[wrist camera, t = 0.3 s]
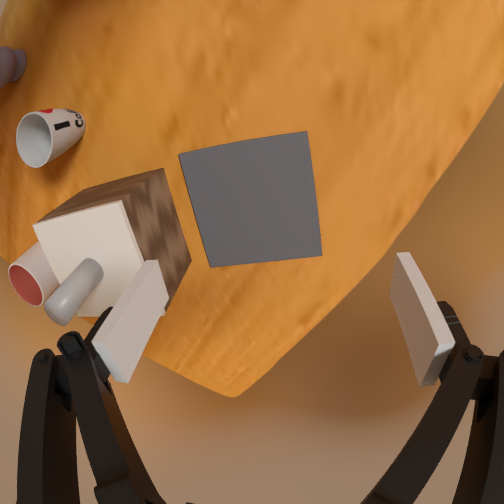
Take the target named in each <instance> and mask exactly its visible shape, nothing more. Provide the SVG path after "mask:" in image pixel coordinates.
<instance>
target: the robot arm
mask: <svg viewBox="0 0 504 504" xmlns="http://www.w3.org/2000/svg"><path fill="white" fill-rule="evenodd" d="M389 294H390V297H391V300H392V302H393V305H394V308H395V311H396V314H397V317H398V319H399V322H400V325H401V328H402V331H403V334H404V337H405V340H406V343H407V347H408V350H409V353H410V356H411V360H412V363H413V366H414V370H415V373H416V377H417V380H418V384H419V387H425V386H431V385H435V383H436V381H437V379H438V377H439V378H440V381H441V386H440V387H439V389H438V391H437V392H436V394H435V396H434V398H433V400H432V402H431V404H430V406H429V407H428V409H427V411H426V412H425V414H424V416H423V418H422V419H421V421H420V422H419V424H418V426H417V427H416V429H415V431H414V432H413V434H412V435H411V437H410V438H409V440H408V441H407V443H406V445H405V446H404V447H403V449H402V450H401V452H400V453H399V455H398V456H397V458H396V459H395V460H394V462H393V463H392V464H391V466H390V467H389V469H388V470H387V471H386V473H385V474H384V475H383V476H382V478H381V479H380V481H379V482H378V483H377V484H376V486H375V487H374V488H373V489H372V490H371V492H370V493H369V494H368V495H367V496H366V498H365V499H364V500H363V501H362V502H361V503H360V504H413V503H414V501H415V500H416V498H417V497H418V495H419V494H420V492H421V491H422V489H423V488H424V486H425V485H426V483H427V482H428V480H429V478H430V477H431V475H432V473H433V472H434V470H435V468H436V467H437V465H438V463H439V462H440V460H441V458H442V456H443V454H444V453H445V451H446V449H447V447H448V445H449V443H450V441H451V439H452V437H453V435H454V433H455V431H456V429H457V427H458V425H459V423H460V421H461V419H462V417H463V414H464V412H465V410H466V408H467V405H468V403H469V401H470V399H472V400H475V407H474V414H473V420H472V426H471V432H470V437H469V442H468V447H467V451H466V456H465V460H464V464H463V468H462V472H461V476H460V479H459V483H458V486H457V489H456V493H455V496H454V499H453V502H452V504H504V350H503V351H502V352H501V353H500V355H499V357H496V356H488V355H484V354H483V352H482V351H481V349H480V348H478V347H477V346H475V345H471V344H470V341H469V339H468V337H467V335H466V333H465V331H464V329H463V327H462V325H461V323H460V321H459V319H458V318H457V317H456V313H455V312H454V310H453V308H452V307H451V306H450V305H449V304H448V303H447V302H446V301H440V302H436V301H435V299H434V297H433V295H432V293H431V291H430V289H429V287H428V285H427V283H426V281H425V280H424V278H423V276H422V274H421V272H420V270H419V269H418V267H417V265H416V263H415V262H414V260H413V258H412V256H411V255H410V253H409V252H403V253H396V258H395V265H394V272H393V277H392V283H391V288H390V293H389ZM168 299H169V296H168V293H167V289H166V286H165V283H164V280H163V276H162V273H161V270H160V266H159V263H158V260H146V261H145V262H144V264H143V265H142V266H141V268H140V269H139V271H138V272H137V273H136V275H135V276H134V278H133V279H132V281H131V282H130V284H129V285H128V286H127V288H126V289H125V291H124V292H123V294H122V295H121V297H120V298H119V300H118V301H117V303H116V304H115V306H114V307H109V308H107V309H106V310H105V311H104V312H102V314H101V315H100V317H99V318H98V321H96V323H95V324H94V326H93V328H92V329H91V331H90V332H89V333H88V335H87V337H86V338H85V340H84V341H83V339H82V337H81V336H80V334H79V333H78V332H76V331H71V332H68V333H66V334H64V335H63V336H62V337H60V339H59V341H58V342H57V347H58V349H59V350H60V352H61V353H62V355H58V356H57V355H56V356H55V355H54V353H53V352H52V350H50V349H43V350H40V351H39V352H38V353H37V354H36V355H35V356H34V358H33V361H32V365H31V370H30V375H29V380H28V385H27V390H26V396H25V402H24V408H23V415H22V423H21V431H20V441H19V453H18V473H17V502H16V504H80V497H79V487H78V474H77V455H76V417H77V420H78V425H79V428H80V432H81V436H82V439H83V443H84V446H85V449H86V453H87V456H88V459H89V462H90V465H91V468H92V471H93V474H94V477H95V479H96V483H97V486H96V487H94V493H95V496H96V499H97V502H98V504H166V502H165V501H164V500H163V499H162V498H161V496H160V495H159V493H158V492H157V490H156V488H155V486H154V484H153V483H152V480H151V479H150V477H149V475H148V473H147V471H146V469H145V467H144V465H143V462H142V460H141V458H140V456H139V454H138V452H137V450H136V447H135V445H134V443H133V441H132V439H131V436H130V434H129V432H128V429H127V427H126V424H125V422H124V419H123V417H122V414H121V412H120V410H119V406H118V404H117V401H116V398H115V396H114V393H113V390H112V387H111V384H110V383H109V381H108V377H109V375H110V374H111V375H112V377H113V378H114V380H115V381H118V382H124V383H129V381H130V378H131V376H132V374H133V372H134V370H135V367H136V365H137V363H138V361H139V359H140V357H141V355H142V353H143V350H144V348H145V346H146V344H147V342H148V340H149V338H150V336H151V334H152V332H153V330H154V328H155V326H156V324H157V322H158V319H159V317H160V315H161V313H162V311H163V309H164V307H165V305H166V303H167V301H168ZM186 504H192V503H186Z"/></svg>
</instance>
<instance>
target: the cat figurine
mask: <svg viewBox="0 0 504 504" xmlns="http://www.w3.org/2000/svg"><path fill="white" fill-rule="evenodd" d="M25 67H26V54H25V53H24V51H23V50H21V49H15V50H12V49H11V48H9V47H7V46H3V47H0V88H2V87H3V86H4V85H6V84H7V83H8V82H13V81H17V80H18V79H19V78H20V77H21V76H22V75H23V73H24V70H25Z"/></svg>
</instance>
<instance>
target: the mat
mask: <svg viewBox="0 0 504 504" xmlns="http://www.w3.org/2000/svg"><path fill="white" fill-rule="evenodd" d="M179 158H180V162H181V166H182V169H183V173H184V177H185V180H186V184H187V188H188V191H189V195H190V199H191V202H192V206H193V209H194V213H195V216H196V220H197V223H198V227H199V230H200V234H201V237H202V240H203V244H204V247H205V251H206V254H207V257H208V261H209V264H210V267H220V266H230V265H240V264H250V263H259V262H269V261H278V260H288V259H297V258H306V257H315V256H322V247H321V237H320V227H319V218H318V209H317V200H316V192H315V184H314V176H313V169H312V162H311V155H310V148H309V141H308V135H307V131H306V132H298V133H290V134H283V135H276V136H269V137H263V138H257V139H251V140H245V141H239V142H234V143H229V144H223V145H218V146H213V147H208V148H204V149H199V150H194V151H190V152H185V153H181V154H179Z"/></svg>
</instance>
